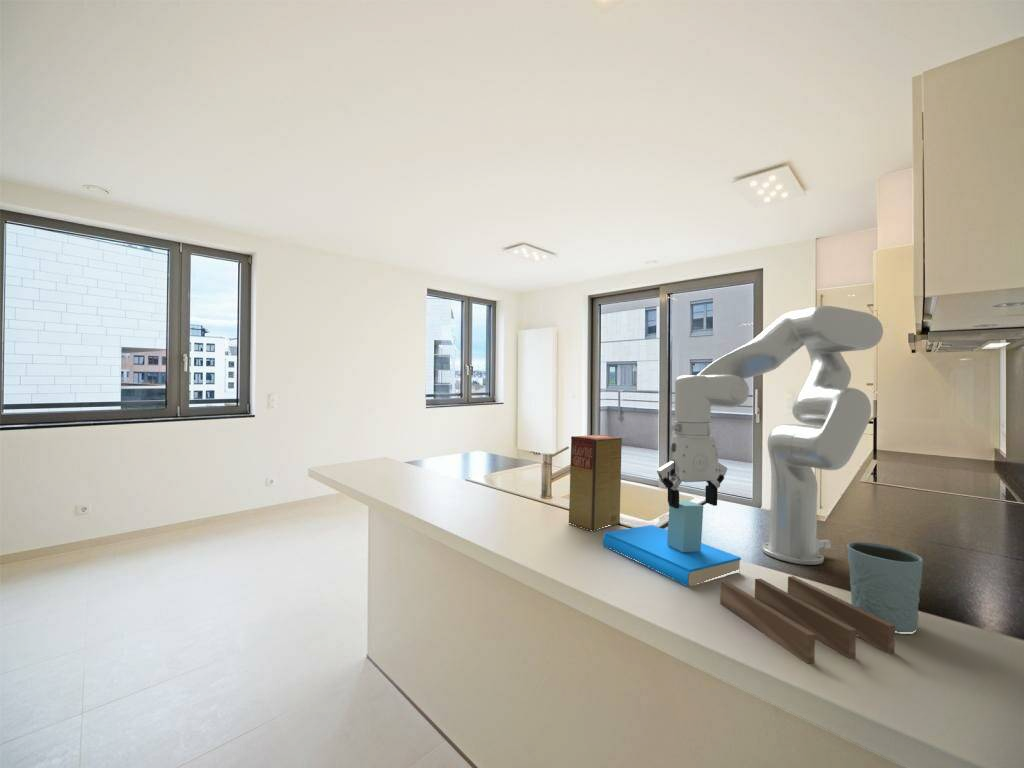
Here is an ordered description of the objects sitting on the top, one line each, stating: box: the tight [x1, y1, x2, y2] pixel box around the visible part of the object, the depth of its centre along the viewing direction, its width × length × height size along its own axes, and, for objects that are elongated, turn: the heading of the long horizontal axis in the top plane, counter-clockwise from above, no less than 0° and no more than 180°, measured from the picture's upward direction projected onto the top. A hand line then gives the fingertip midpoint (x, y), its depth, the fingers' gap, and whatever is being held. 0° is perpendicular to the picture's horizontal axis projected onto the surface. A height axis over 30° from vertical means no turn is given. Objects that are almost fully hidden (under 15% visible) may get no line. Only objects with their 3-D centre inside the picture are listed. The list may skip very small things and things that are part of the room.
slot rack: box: [719, 575, 896, 664], centre depth 74 cm, size 16×18×4 cm
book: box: [602, 524, 742, 588], centre depth 102 cm, size 17×4×25 cm
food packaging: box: [568, 434, 623, 532], centre depth 128 cm, size 13×9×25 cm
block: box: [667, 499, 704, 552], centre depth 100 cm, size 5×5×10 cm
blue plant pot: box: [846, 541, 924, 632], centre depth 77 cm, size 10×10×12 cm
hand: (692, 505), depth 100 cm, fingers open, 9 cm apart
